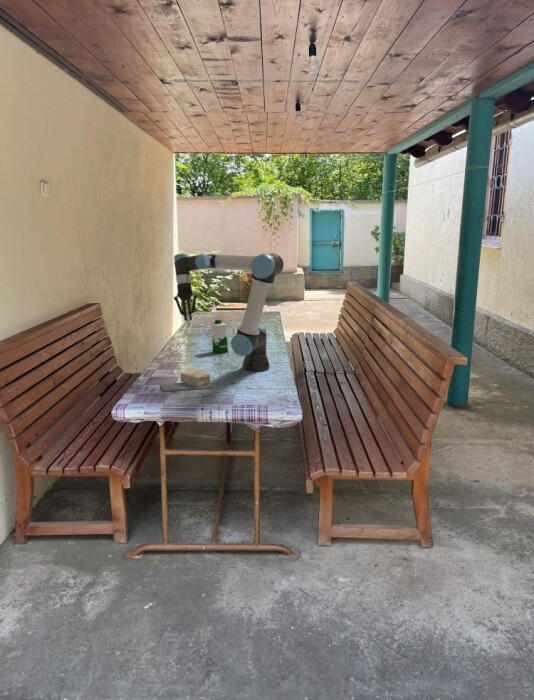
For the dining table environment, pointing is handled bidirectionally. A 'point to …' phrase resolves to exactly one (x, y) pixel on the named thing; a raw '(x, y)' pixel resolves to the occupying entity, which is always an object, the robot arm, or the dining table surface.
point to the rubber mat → (183, 387)
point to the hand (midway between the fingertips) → (188, 326)
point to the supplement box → (195, 378)
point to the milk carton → (219, 337)
